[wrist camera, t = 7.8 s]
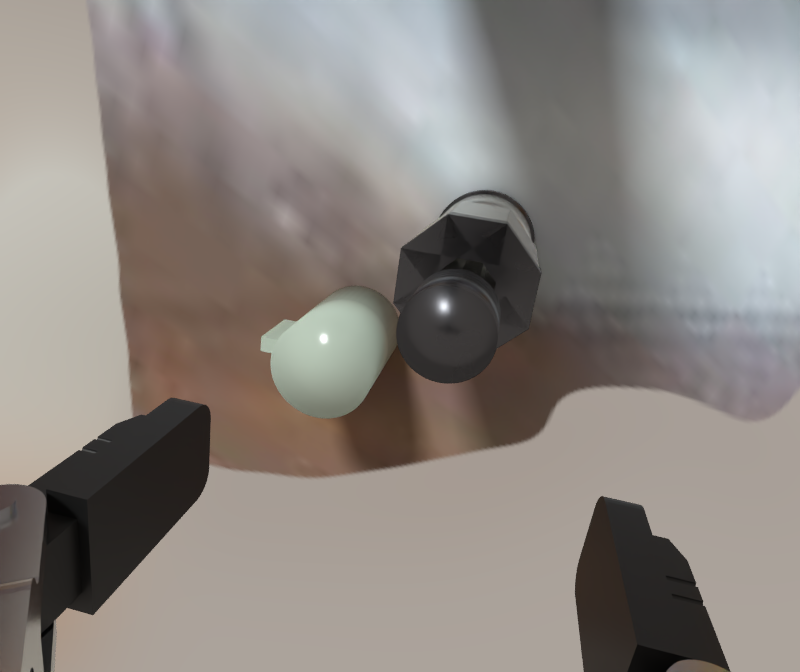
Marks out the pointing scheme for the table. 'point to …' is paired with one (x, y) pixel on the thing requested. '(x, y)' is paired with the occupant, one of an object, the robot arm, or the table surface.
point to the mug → (333, 351)
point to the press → (479, 254)
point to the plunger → (450, 325)
